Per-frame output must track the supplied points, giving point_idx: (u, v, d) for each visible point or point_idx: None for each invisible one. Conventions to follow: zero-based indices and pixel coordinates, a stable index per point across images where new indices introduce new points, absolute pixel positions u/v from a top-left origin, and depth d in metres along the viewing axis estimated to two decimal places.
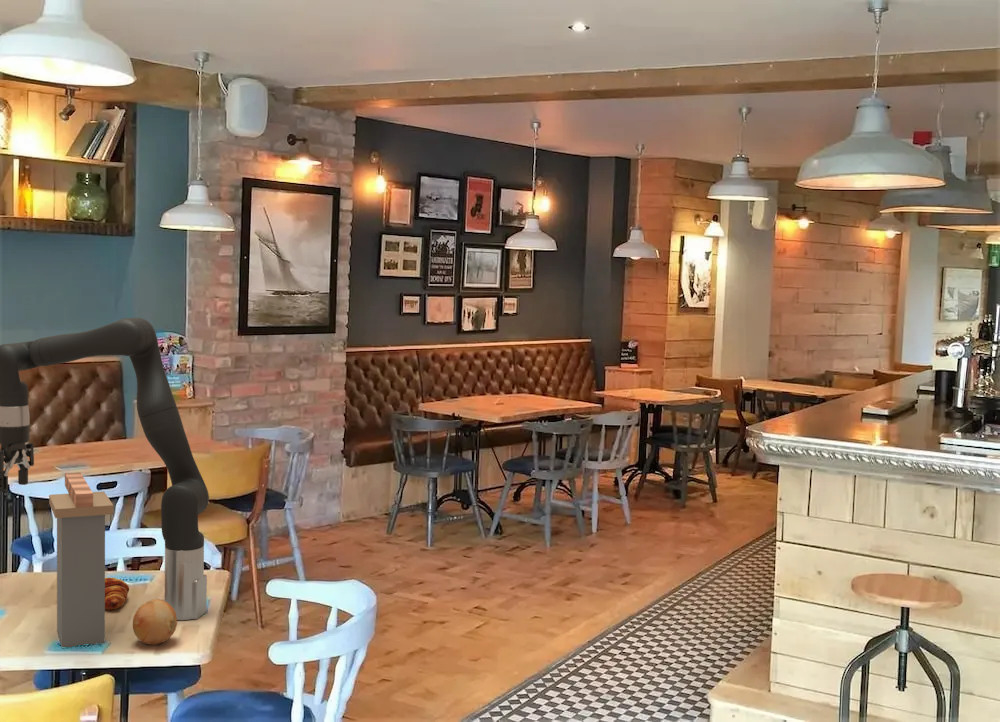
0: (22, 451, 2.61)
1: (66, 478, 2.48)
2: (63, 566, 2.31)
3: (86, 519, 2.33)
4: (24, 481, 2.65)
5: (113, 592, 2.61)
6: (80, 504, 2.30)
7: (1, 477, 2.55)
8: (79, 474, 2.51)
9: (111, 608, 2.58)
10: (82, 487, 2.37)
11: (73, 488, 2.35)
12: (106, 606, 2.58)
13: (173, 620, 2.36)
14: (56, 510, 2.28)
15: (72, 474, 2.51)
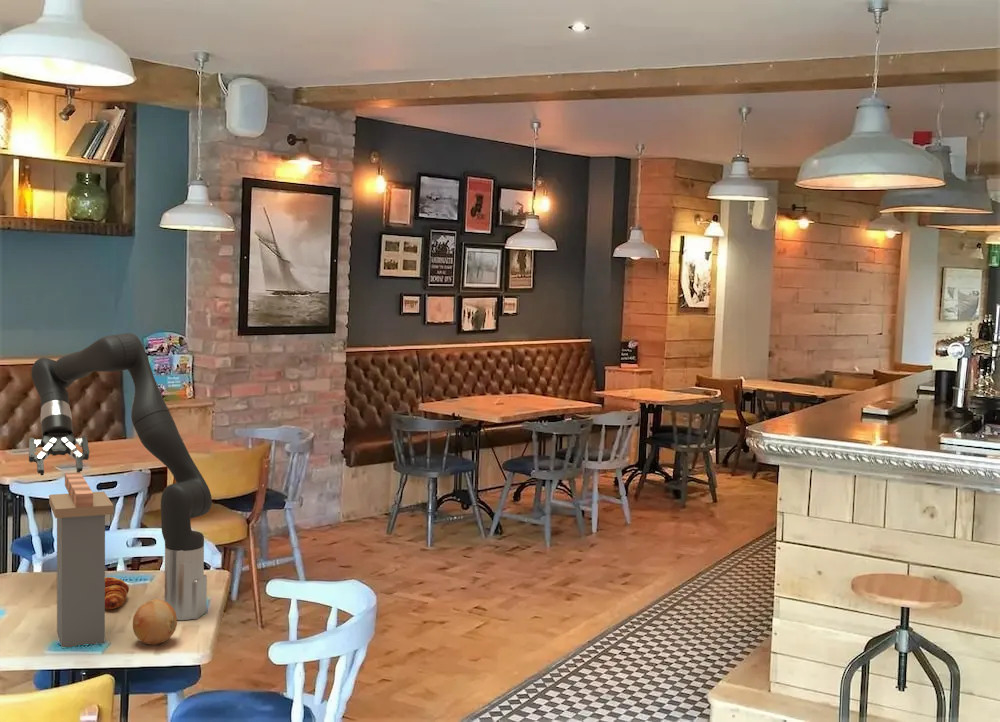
0: (62, 439, 2.69)
1: (66, 478, 2.48)
2: (63, 566, 2.31)
3: (86, 519, 2.33)
4: (77, 467, 2.66)
5: (112, 592, 2.61)
6: (80, 504, 2.30)
7: (37, 461, 2.64)
8: (79, 474, 2.51)
9: (110, 608, 2.58)
10: (82, 487, 2.37)
11: (73, 488, 2.35)
12: (105, 606, 2.58)
13: (173, 620, 2.36)
14: (56, 510, 2.28)
15: (72, 474, 2.51)
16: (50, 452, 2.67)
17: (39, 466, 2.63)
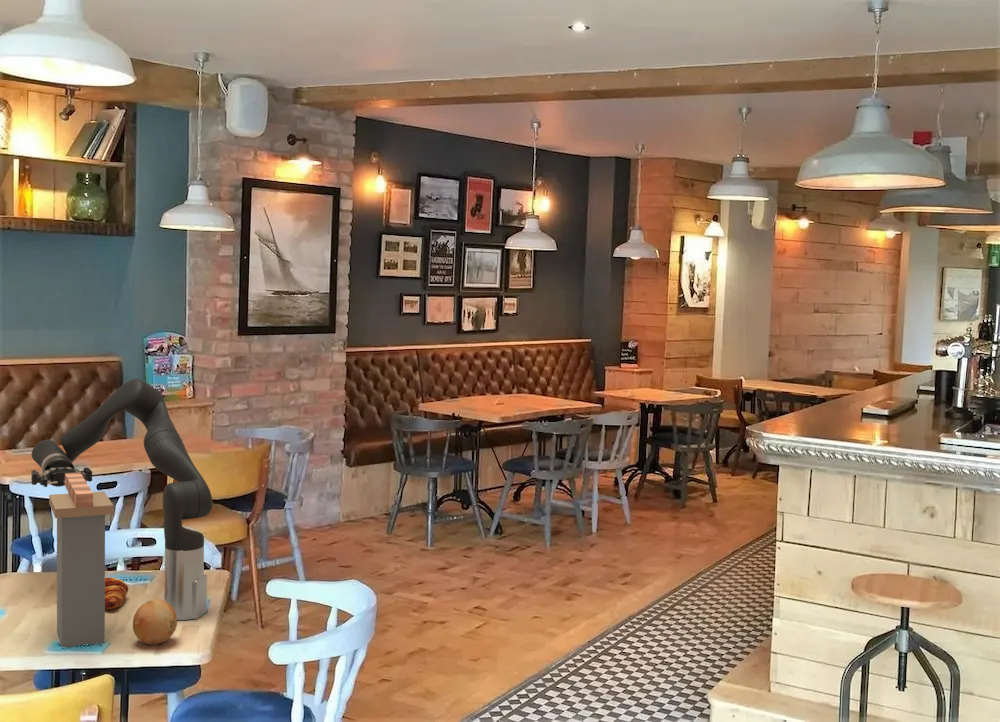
0: (64, 467, 2.68)
1: (66, 478, 2.48)
2: (63, 566, 2.31)
3: (86, 519, 2.33)
4: None
5: (111, 592, 2.61)
6: (80, 504, 2.30)
7: (40, 479, 2.61)
8: (79, 474, 2.51)
9: (109, 608, 2.58)
10: (82, 487, 2.37)
11: (73, 488, 2.35)
12: None
13: (173, 620, 2.36)
14: (56, 510, 2.28)
15: (72, 474, 2.51)
16: (53, 477, 2.65)
17: (42, 478, 2.59)
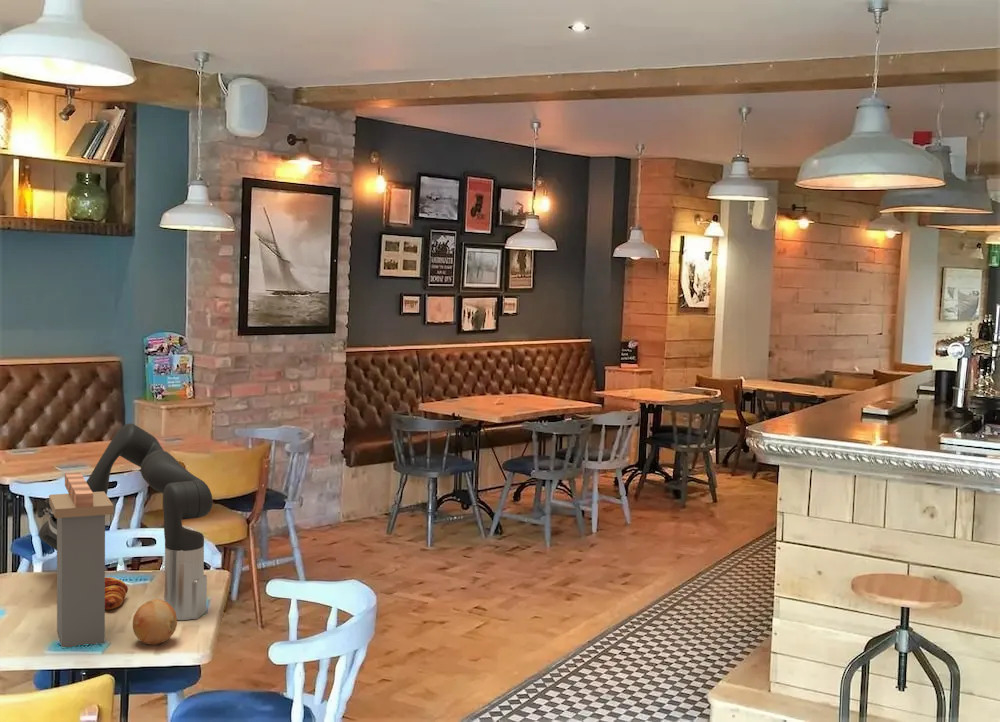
0: None
1: (66, 478, 2.48)
2: (63, 566, 2.31)
3: (86, 519, 2.33)
4: None
5: (111, 592, 2.61)
6: (80, 504, 2.30)
7: (45, 503, 2.59)
8: (79, 474, 2.51)
9: (108, 608, 2.58)
10: (82, 487, 2.37)
11: (73, 488, 2.35)
12: None
13: (173, 620, 2.36)
14: (56, 510, 2.28)
15: (72, 474, 2.51)
16: None
17: None
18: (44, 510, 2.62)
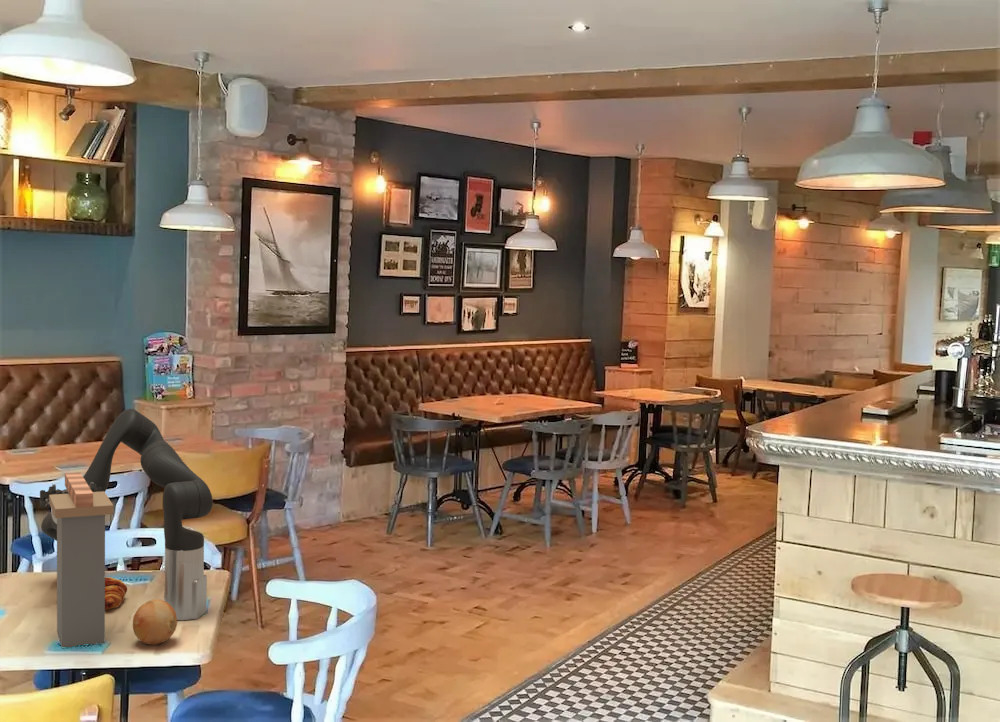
0: None
1: (66, 478, 2.48)
2: (63, 566, 2.31)
3: (86, 519, 2.33)
4: (90, 484, 2.54)
5: (109, 592, 2.61)
6: (80, 504, 2.30)
7: (48, 492, 2.52)
8: (79, 474, 2.51)
9: (107, 608, 2.58)
10: (82, 487, 2.37)
11: (73, 488, 2.35)
12: None
13: (173, 620, 2.36)
14: (56, 510, 2.28)
15: (72, 474, 2.51)
16: None
17: None
18: (47, 500, 2.55)
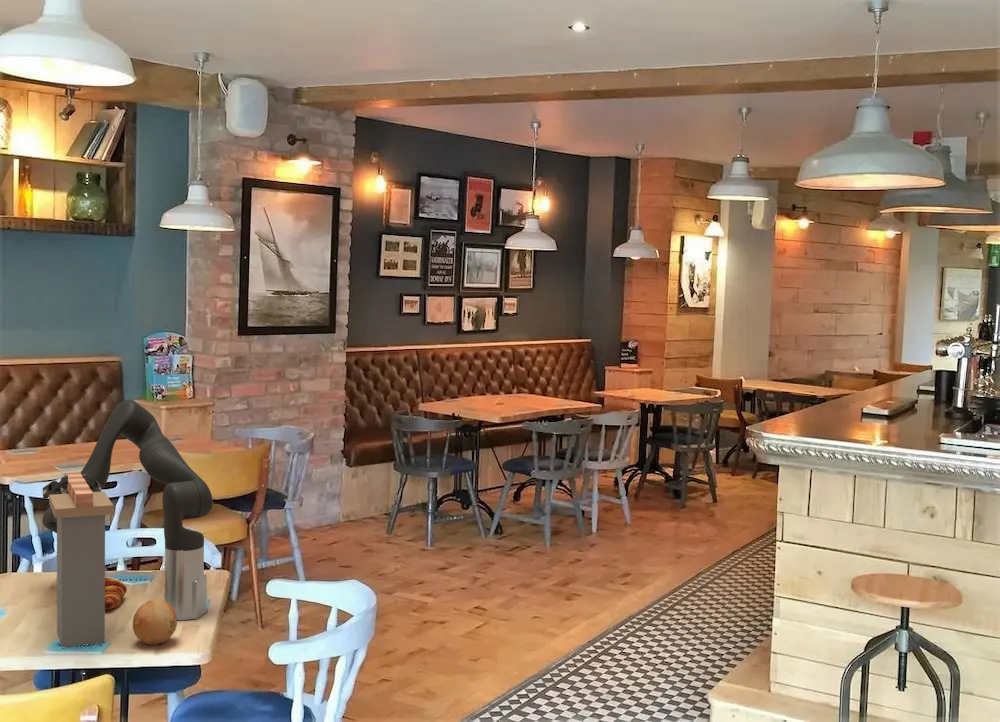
0: None
1: None
2: (63, 566, 2.31)
3: (86, 519, 2.33)
4: (82, 476, 2.48)
5: (108, 592, 2.61)
6: (80, 504, 2.30)
7: (60, 482, 2.48)
8: (79, 474, 2.51)
9: (105, 608, 2.58)
10: (82, 487, 2.37)
11: (73, 488, 2.35)
12: None
13: (173, 620, 2.36)
14: (56, 510, 2.28)
15: (72, 474, 2.51)
16: None
17: None
18: (52, 490, 2.50)
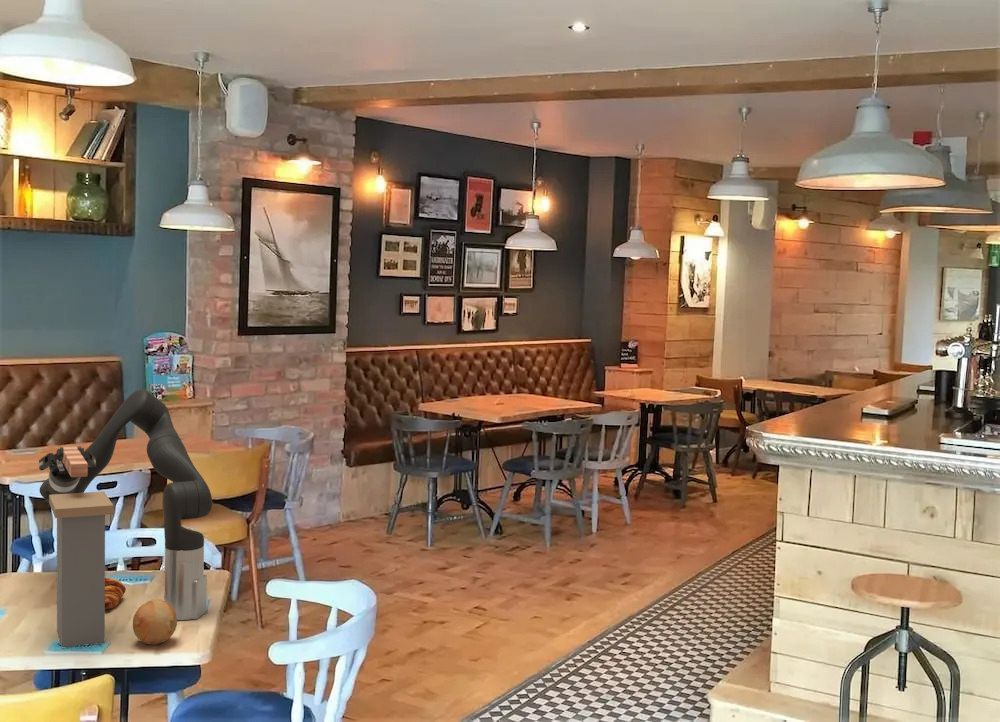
0: None
1: None
2: (63, 566, 2.31)
3: (86, 519, 2.33)
4: None
5: (106, 592, 2.61)
6: (75, 474, 2.38)
7: (56, 454, 2.57)
8: (74, 447, 2.60)
9: None
10: (77, 458, 2.45)
11: (68, 459, 2.44)
12: None
13: (173, 620, 2.36)
14: (56, 510, 2.28)
15: (67, 447, 2.60)
16: None
17: None
18: (48, 462, 2.59)
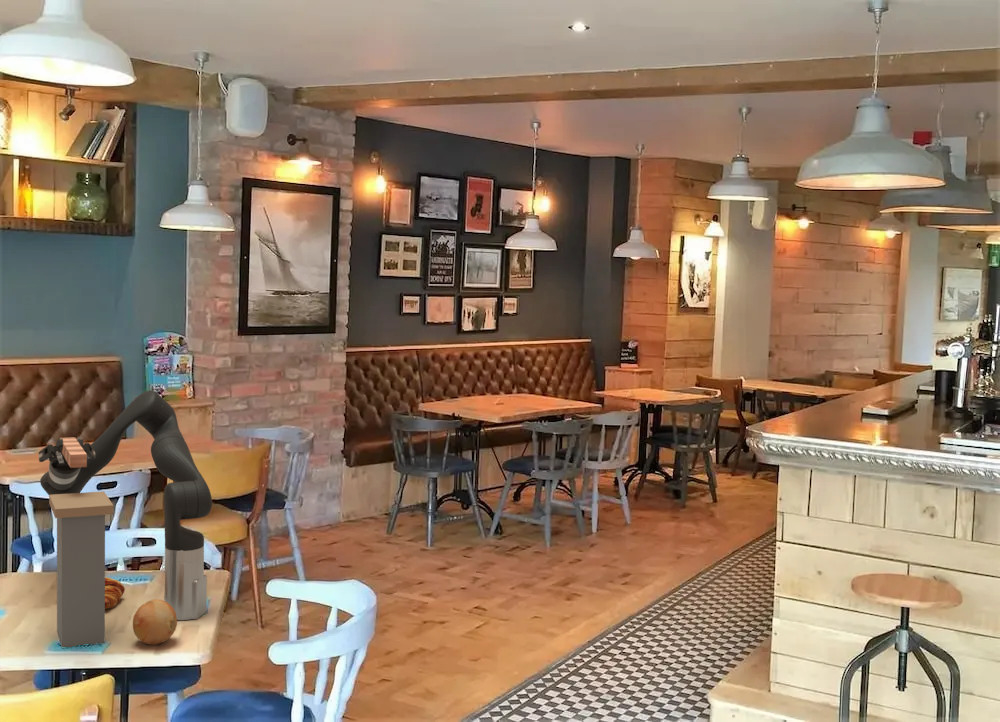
0: None
1: None
2: (63, 566, 2.31)
3: (86, 519, 2.33)
4: (77, 440, 2.58)
5: (105, 592, 2.61)
6: (74, 464, 2.40)
7: (55, 446, 2.58)
8: (74, 438, 2.61)
9: None
10: (76, 449, 2.47)
11: (67, 450, 2.45)
12: None
13: (173, 620, 2.36)
14: (56, 510, 2.28)
15: (67, 438, 2.61)
16: None
17: None
18: None
